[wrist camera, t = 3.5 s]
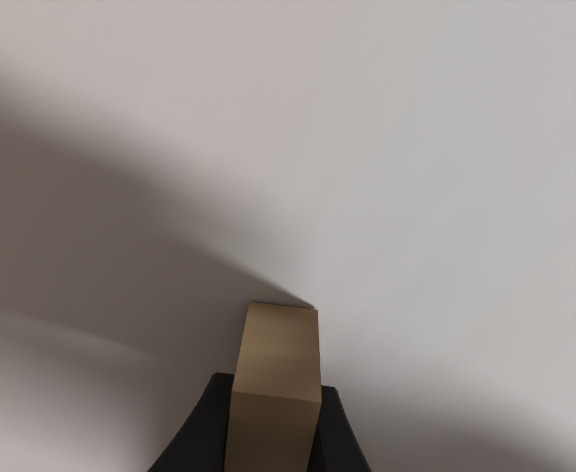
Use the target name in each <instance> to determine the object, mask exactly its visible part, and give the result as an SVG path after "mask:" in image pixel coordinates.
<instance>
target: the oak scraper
mask: <svg viewBox="0 0 576 472" xmlns="http://www.w3.org/2000/svg"><path fill="white" fill-rule="evenodd" d="M321 403H322V397H321V375H320V353H319V331H318V310H313V309H305V308H297V307H289V306H282V305H274V304H266V303H258V302H249V307H248V312H247V317H246V322H245V327H244V332H243V337H242V342H241V347H240V352H239V357H238V362H237V367H236V372H235V377H234V382H233V387H232V394H231V404H230V414H229V424H228V433H227V443H226V453H225V463H224V472H306V471H307V466H308V462H309V457H310V453H311V448H312V444H313V439H314V435H315V430H316V426H317V421H318V417H319V412H320V408H321Z"/></svg>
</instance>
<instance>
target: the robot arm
mask: <svg viewBox="0 0 576 472" xmlns="http://www.w3.org/2000/svg"><path fill="white" fill-rule="evenodd" d="M234 377H235V375H233V374H225V373H215V374H213V375H212V377H211V379H210V381H209V383H208V385H207V387H206V389H205V391H204V393H203V395H202V396H201V398H200V400H199V401H198V403H197V405H196V406H195V408H194V409H193V411H192V413H191V414H190V416H189V417H188V418H187V420H186V421H185V423H184V424H183V426H182V427H181V429H180V430H179V432H178V433H177V434H176V436H175V437H174V439H173V440H172V441H171V442H170V444H169V445H168V446H167V448H166V449H165V450H164V451H163V453H162V454H161V455H160V457H159V458H158V459H157V461H156V462H155V463H154V464H153V465H152V467H151V468H150V469H149V470H148V471H147V472H224V463H225V453H226V443H227V433H228V424H229V414H230V404H231V394H232V387H233V382H234ZM321 397H322V403H321V408H320V412H319V417H318V421H317V426H316V430H315V435H314V439H313V444H312V448H311V453H310V457H309V462H308V466H307V471H306V472H372V471H371V469H370V467H369V465H368V463H367V461H366V459H365V457H364V455H363V453H362V451H361V449H360V447H359V445H358V442H357V440H356V438H355V436H354V434H353V431H352V429H351V426H350V424H349V422H348V419H347V417H346V414H345V412H344V409H343V406H342V403H341V401H340V398H339V395H338V391H337V390H336V389H335V387H329V386H321Z"/></svg>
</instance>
